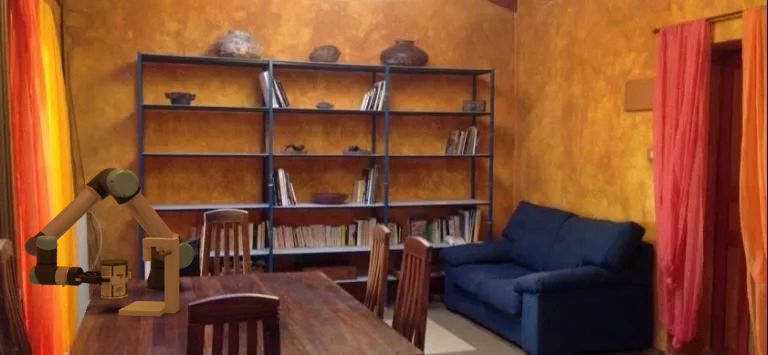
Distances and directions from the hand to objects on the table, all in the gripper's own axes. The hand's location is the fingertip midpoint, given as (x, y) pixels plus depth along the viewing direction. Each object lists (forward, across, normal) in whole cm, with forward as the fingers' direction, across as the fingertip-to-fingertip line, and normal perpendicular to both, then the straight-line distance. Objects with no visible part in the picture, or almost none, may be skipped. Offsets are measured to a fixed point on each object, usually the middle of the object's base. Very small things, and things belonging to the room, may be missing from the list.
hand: (125, 277), depth 277 cm
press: (+11, +2, -13) cm, 17 cm away
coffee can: (-4, 0, -8) cm, 9 cm away
